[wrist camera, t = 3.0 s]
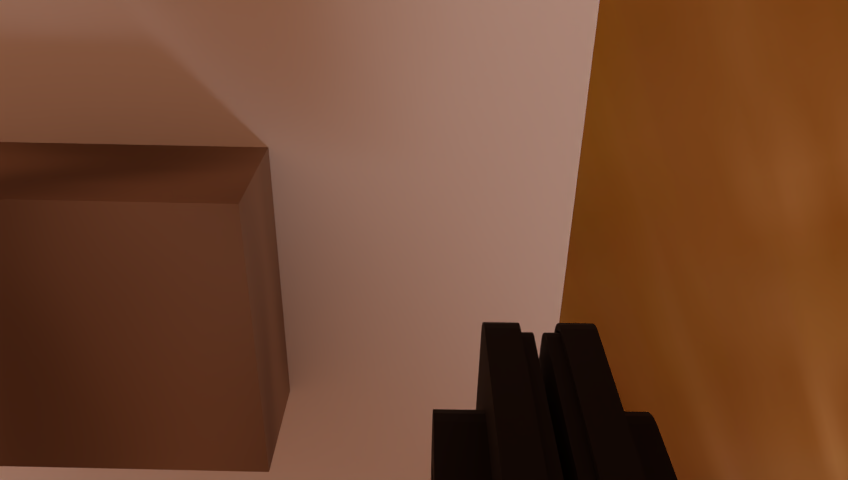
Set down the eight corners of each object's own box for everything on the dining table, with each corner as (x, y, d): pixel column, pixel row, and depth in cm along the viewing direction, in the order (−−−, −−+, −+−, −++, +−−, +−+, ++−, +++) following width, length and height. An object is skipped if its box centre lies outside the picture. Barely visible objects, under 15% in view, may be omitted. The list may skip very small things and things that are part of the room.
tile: (268, 147, 14) (238, 204, 12) (289, 390, 17) (269, 471, 15) (-147, 138, 14) (-251, 194, 12) (-55, 382, 17) (-127, 463, 15)
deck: (575, -145, 15) (616, -138, 12) (516, 436, 23) (531, 543, 20) (-291, -162, 16) (-503, -160, 12) (-63, 423, 23) (-152, 528, 20)
